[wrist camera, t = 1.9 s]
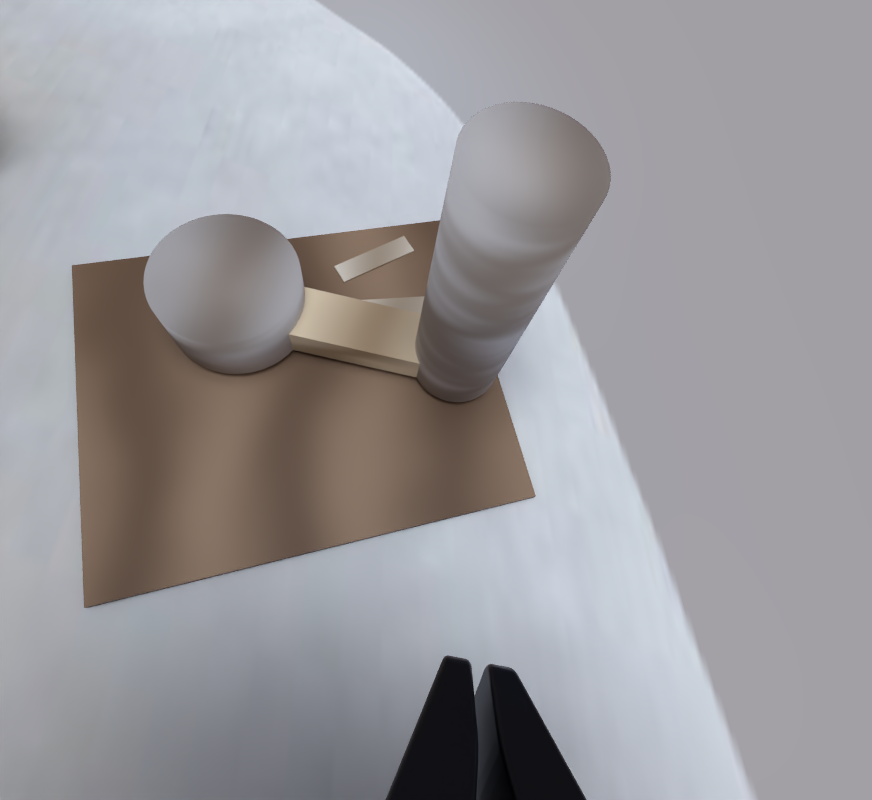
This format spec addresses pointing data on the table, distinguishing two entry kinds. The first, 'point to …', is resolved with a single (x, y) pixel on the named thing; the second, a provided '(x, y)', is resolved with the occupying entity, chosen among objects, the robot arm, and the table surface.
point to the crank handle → (448, 278)
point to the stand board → (267, 433)
